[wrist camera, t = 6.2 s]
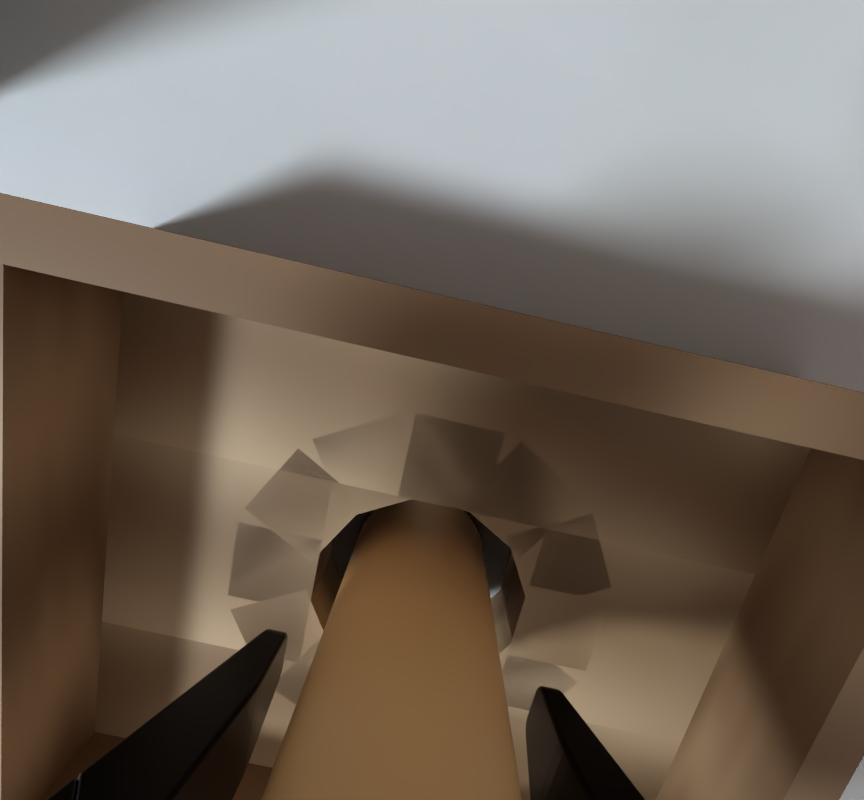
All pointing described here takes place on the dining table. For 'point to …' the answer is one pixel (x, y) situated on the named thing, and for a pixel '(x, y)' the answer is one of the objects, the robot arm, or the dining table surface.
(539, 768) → the robot arm
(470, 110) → the dining table surface
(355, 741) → the peg
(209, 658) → the crate
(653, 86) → the dining table surface
